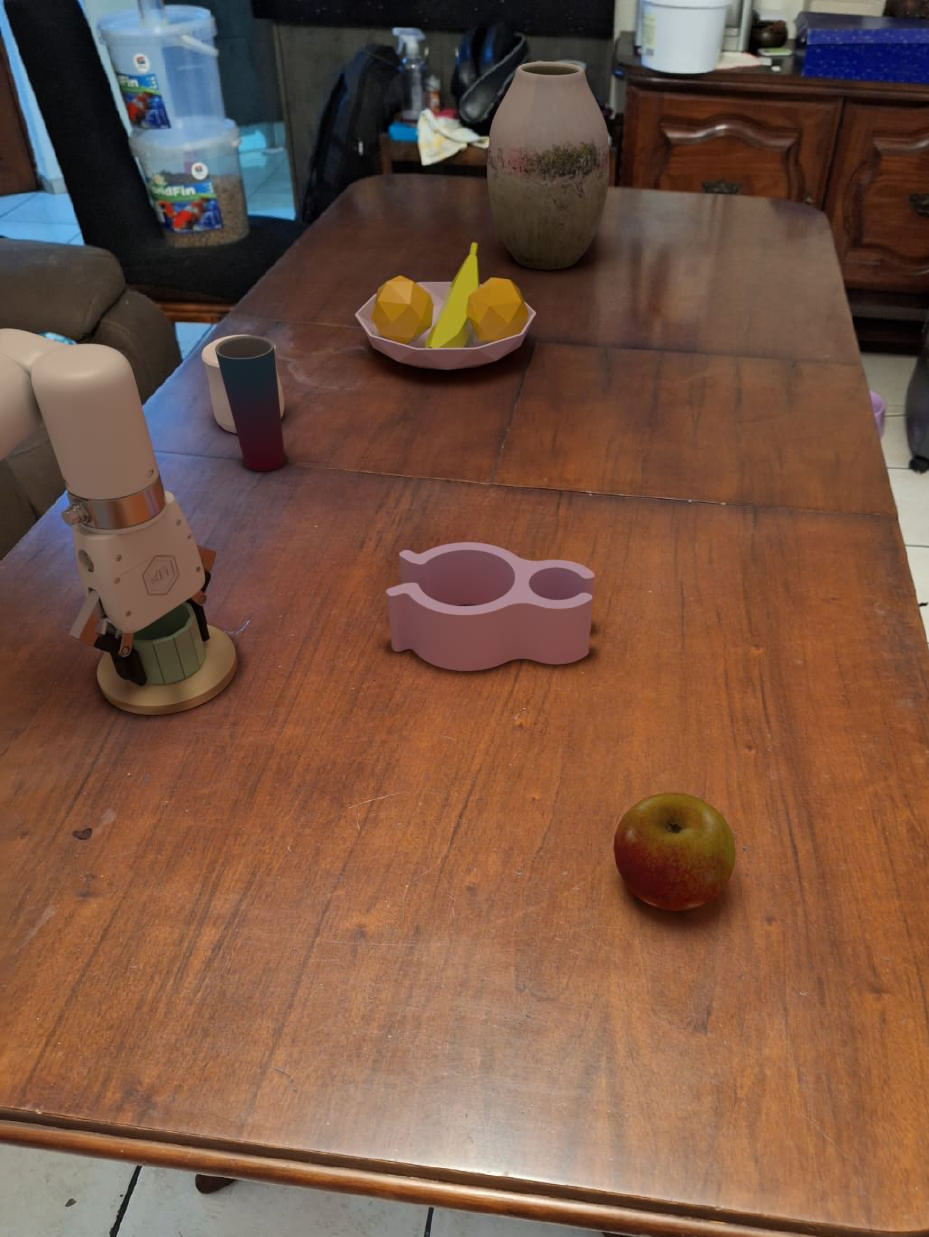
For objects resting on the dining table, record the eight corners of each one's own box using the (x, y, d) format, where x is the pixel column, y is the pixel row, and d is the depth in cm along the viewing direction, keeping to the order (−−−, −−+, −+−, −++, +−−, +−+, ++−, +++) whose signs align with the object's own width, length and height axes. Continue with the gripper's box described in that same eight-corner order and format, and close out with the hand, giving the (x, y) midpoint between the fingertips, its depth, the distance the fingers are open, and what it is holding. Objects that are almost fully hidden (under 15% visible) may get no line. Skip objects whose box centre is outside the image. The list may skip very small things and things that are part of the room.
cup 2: (267, 480, 127) (246, 363, 117) (226, 465, 130) (202, 350, 120) (303, 457, 132) (285, 343, 122) (262, 443, 134) (242, 330, 124)
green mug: (220, 654, 100) (210, 613, 97) (164, 694, 96) (151, 652, 92) (149, 619, 104) (137, 578, 101) (92, 656, 100) (77, 615, 96)
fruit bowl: (472, 405, 144) (470, 325, 136) (324, 359, 154) (314, 282, 146) (573, 338, 161) (576, 264, 154) (434, 301, 171) (430, 230, 164)
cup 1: (281, 398, 144) (270, 330, 137) (291, 431, 137) (280, 360, 130) (212, 406, 142) (197, 337, 135) (218, 440, 135) (203, 368, 128)
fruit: (589, 893, 81) (594, 827, 76) (641, 821, 87) (650, 755, 82) (698, 948, 78) (712, 882, 72) (745, 869, 84) (761, 803, 78)
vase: (620, 250, 192) (634, 63, 171) (577, 287, 178) (585, 88, 157) (518, 232, 198) (519, 50, 178) (468, 267, 184) (462, 73, 163)
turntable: (123, 733, 94) (120, 723, 93) (83, 657, 101) (80, 647, 101) (258, 684, 99) (255, 674, 98) (209, 615, 107) (207, 606, 106)
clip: (593, 605, 110) (596, 550, 105) (585, 680, 101) (589, 624, 96) (409, 592, 111) (404, 537, 106) (385, 665, 102) (379, 609, 97)
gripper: (63, 558, 80) (122, 722, 92) (224, 467, 91) (258, 624, 103) (2, 529, 83) (66, 692, 95) (165, 444, 94) (204, 600, 106)
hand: (166, 656), depth 99 cm, fingers closed on green mug, 7 cm apart
